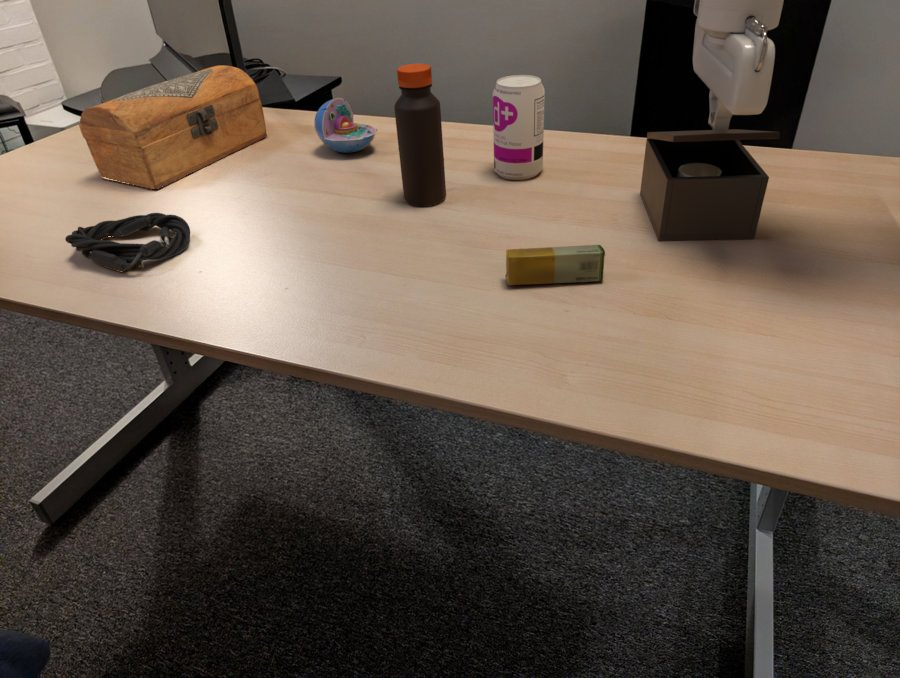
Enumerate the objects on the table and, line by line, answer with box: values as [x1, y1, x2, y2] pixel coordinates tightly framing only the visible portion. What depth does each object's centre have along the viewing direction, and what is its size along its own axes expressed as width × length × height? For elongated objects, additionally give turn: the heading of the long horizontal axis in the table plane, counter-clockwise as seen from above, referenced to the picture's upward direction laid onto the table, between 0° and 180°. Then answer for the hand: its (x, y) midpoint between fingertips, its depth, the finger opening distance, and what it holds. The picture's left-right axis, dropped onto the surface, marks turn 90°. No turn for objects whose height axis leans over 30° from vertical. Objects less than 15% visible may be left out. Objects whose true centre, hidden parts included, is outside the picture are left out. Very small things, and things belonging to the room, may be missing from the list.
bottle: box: [393, 63, 447, 207], centre depth 99 cm, size 7×7×20 cm
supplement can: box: [492, 74, 546, 181], centre depth 107 cm, size 8×8×15 cm
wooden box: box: [78, 64, 268, 190], centre depth 123 cm, size 30×16×14 cm, turn 150°
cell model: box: [313, 97, 378, 154], centre depth 122 cm, size 10×12×10 cm
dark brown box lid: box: [646, 128, 781, 142], centre depth 88 cm, size 16×13×1 cm
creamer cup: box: [677, 163, 722, 177], centre depth 92 cm, size 6×6×6 cm
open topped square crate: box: [639, 137, 770, 242], centre depth 92 cm, size 16×13×9 cm
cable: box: [64, 212, 191, 272], centre depth 95 cm, size 17×14×4 cm
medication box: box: [505, 244, 606, 286], centre depth 81 cm, size 12×3×4 cm, turn 92°
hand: (717, 128), depth 83 cm, fingers closed
